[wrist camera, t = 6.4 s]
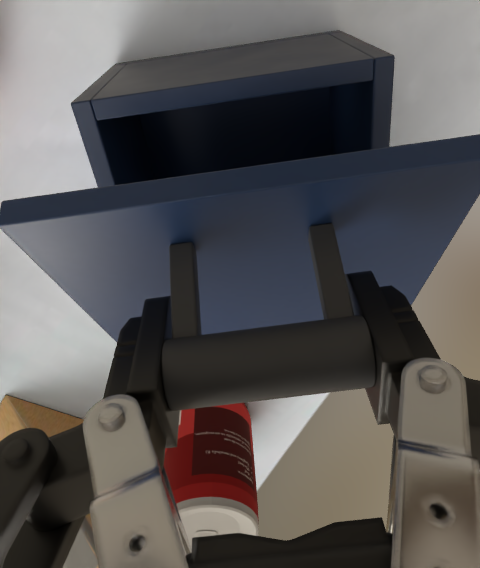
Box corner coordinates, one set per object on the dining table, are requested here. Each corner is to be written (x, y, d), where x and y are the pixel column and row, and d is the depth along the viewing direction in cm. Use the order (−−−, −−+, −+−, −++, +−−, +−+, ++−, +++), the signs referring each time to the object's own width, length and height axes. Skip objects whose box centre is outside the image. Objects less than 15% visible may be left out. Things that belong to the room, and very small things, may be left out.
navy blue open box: (114, 63, 25) (69, 103, 17) (340, 29, 25) (395, 55, 17) (170, 278, 33) (157, 368, 26) (340, 256, 33) (377, 341, 25)
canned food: (180, 446, 45) (171, 566, 36) (158, 392, 40) (141, 513, 31) (256, 435, 44) (266, 554, 35) (243, 379, 40) (250, 499, 31)
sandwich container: (4, 391, 39) (-92, 582, 27) (162, 444, 45) (141, 625, 32) (-22, 445, 43) (-117, 632, 31) (125, 488, 48) (94, 663, 36)
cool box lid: (0, 200, 12) (-37, 411, 9) (492, 131, 11) (590, 334, 9) (156, 367, 26) (157, 469, 23) (378, 340, 25) (403, 441, 23)
